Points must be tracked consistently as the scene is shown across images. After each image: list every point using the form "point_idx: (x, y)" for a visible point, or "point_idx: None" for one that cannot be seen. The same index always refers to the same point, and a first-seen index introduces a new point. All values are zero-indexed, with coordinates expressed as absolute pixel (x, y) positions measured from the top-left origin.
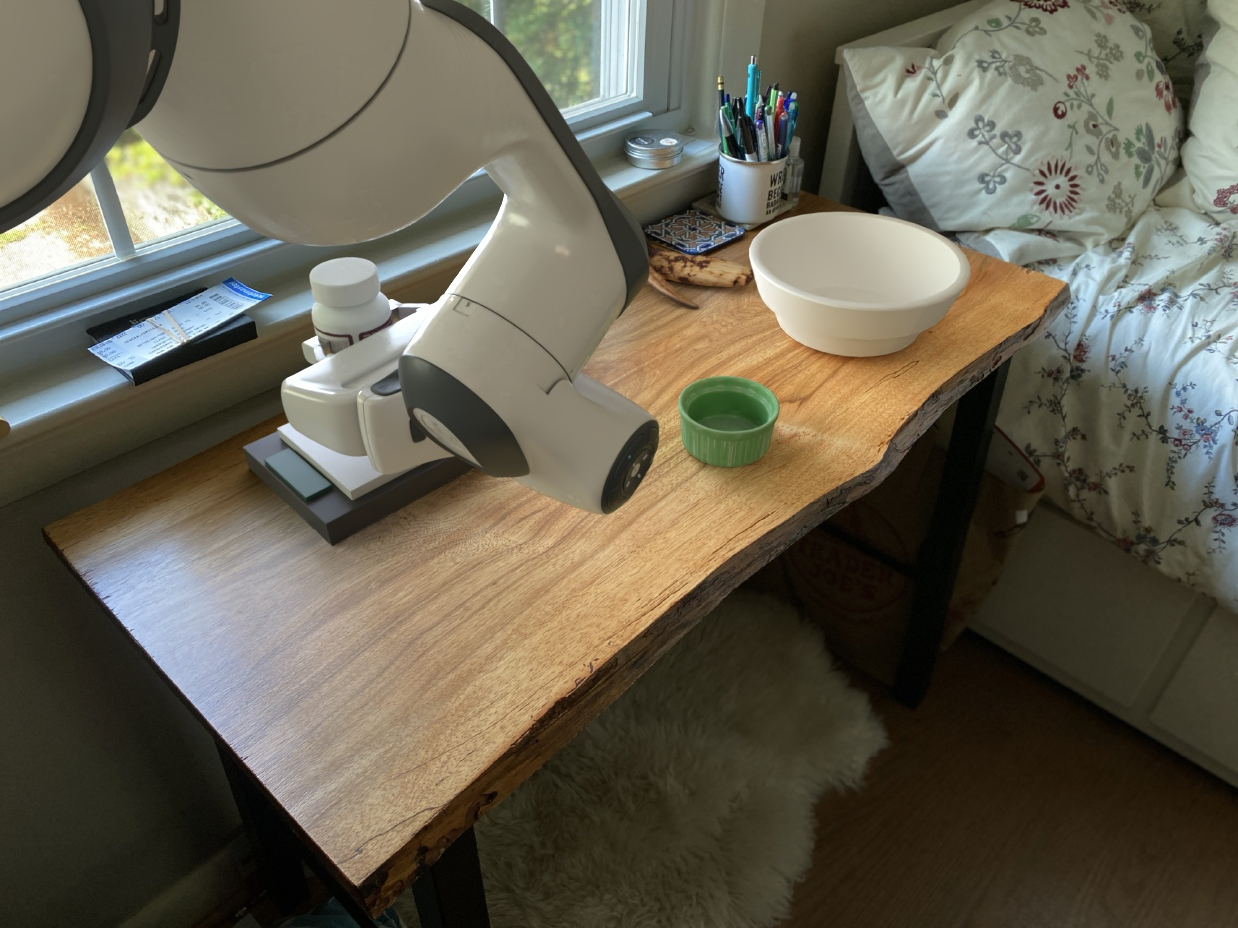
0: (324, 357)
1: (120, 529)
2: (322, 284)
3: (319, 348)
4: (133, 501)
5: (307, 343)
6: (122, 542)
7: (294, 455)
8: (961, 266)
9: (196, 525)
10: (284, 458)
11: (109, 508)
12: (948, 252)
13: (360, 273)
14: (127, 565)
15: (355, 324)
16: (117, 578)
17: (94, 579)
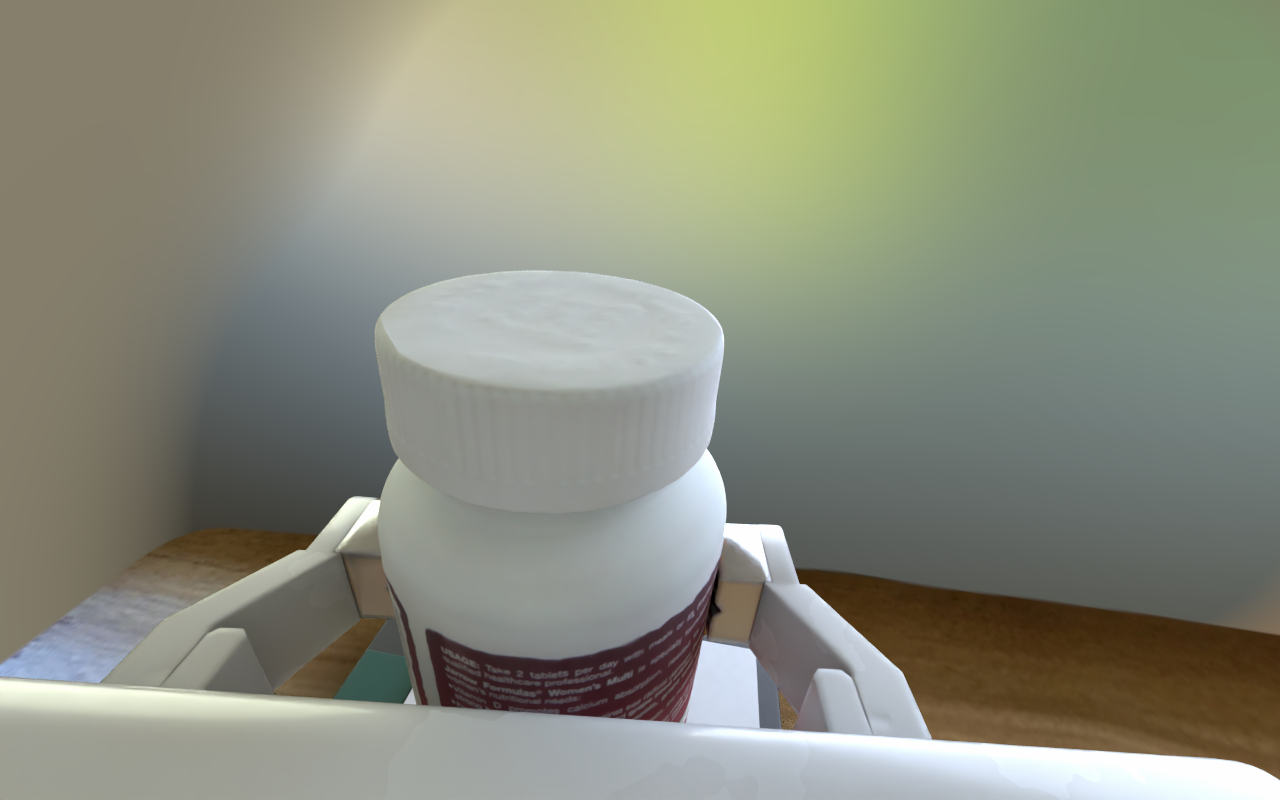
0: (189, 635)
1: (202, 579)
2: (388, 312)
3: (307, 563)
4: (286, 546)
5: (343, 510)
6: (160, 606)
7: (401, 693)
8: None
9: None
10: (383, 682)
11: (263, 534)
12: None
13: (591, 351)
14: (75, 661)
15: (416, 580)
16: (26, 676)
17: (32, 645)
